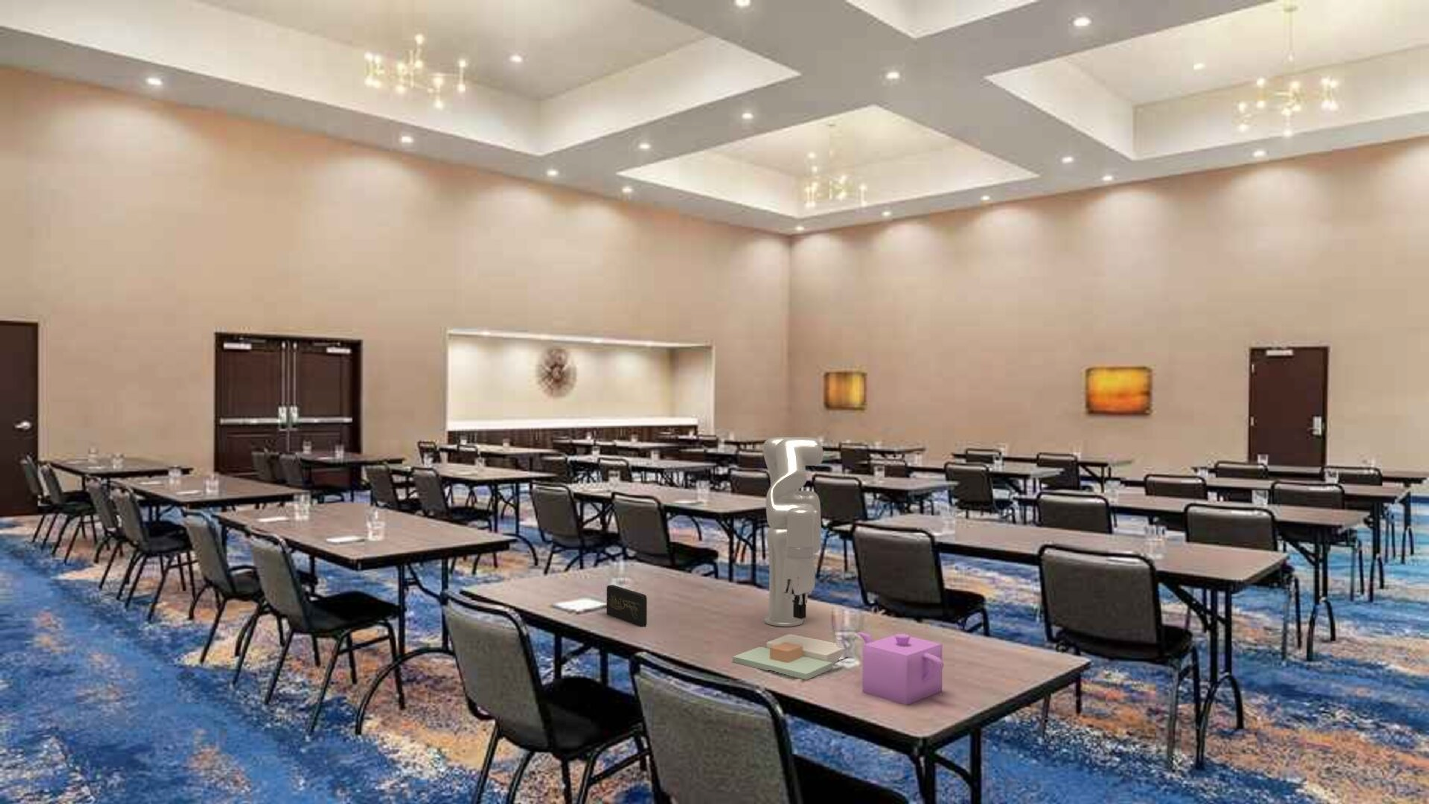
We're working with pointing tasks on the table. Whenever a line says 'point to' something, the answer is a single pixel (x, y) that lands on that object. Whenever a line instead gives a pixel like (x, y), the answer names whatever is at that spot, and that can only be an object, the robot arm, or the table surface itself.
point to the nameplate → (627, 605)
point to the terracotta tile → (786, 652)
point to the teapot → (901, 668)
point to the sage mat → (783, 663)
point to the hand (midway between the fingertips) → (799, 617)
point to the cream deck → (811, 647)
